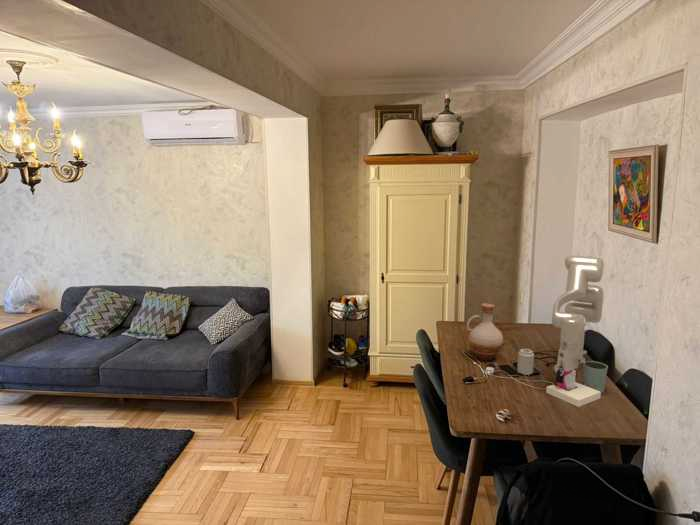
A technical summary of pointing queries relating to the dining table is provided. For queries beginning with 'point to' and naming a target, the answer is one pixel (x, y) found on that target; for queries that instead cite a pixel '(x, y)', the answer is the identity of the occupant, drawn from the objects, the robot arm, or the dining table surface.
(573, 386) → the supplement box
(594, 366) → the grey-green cup
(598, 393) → the notched board
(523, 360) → the can
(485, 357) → the jug
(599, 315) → the robot arm
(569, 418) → the dining table surface
